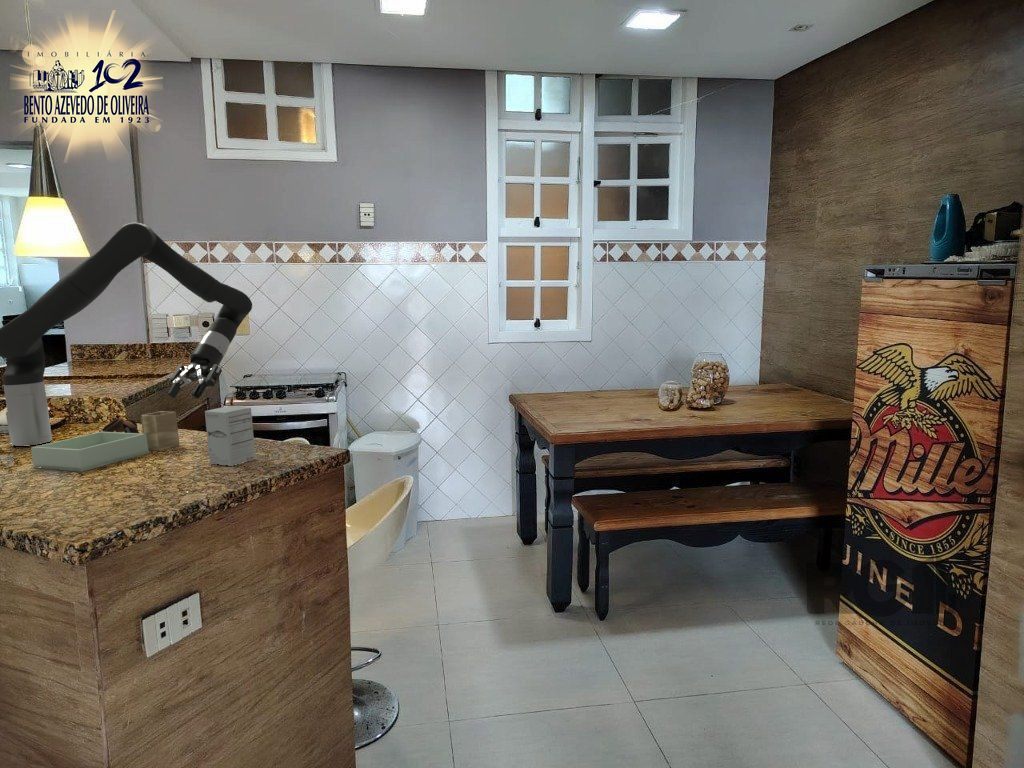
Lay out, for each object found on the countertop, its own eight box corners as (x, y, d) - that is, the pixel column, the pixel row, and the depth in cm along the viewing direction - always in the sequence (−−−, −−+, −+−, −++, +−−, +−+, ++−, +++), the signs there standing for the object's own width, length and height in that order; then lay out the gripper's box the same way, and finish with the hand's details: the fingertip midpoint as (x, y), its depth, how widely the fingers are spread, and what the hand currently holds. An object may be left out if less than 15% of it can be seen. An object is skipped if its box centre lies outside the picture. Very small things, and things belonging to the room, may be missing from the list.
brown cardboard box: (144, 449, 177) (140, 415, 176) (163, 444, 183) (160, 411, 181) (160, 450, 175) (156, 416, 174) (179, 445, 181) (175, 411, 179)
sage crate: (33, 468, 162) (30, 447, 161) (103, 450, 178) (100, 431, 178) (81, 471, 156) (78, 450, 155) (148, 453, 173) (146, 433, 172)
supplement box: (208, 464, 157) (203, 410, 156) (235, 457, 164) (229, 405, 162) (231, 467, 154) (225, 412, 152) (257, 459, 160) (251, 406, 159)
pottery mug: (138, 448, 182) (117, 424, 179) (108, 464, 183) (87, 441, 180) (154, 428, 193) (134, 405, 190) (126, 443, 194) (106, 421, 191)
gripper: (183, 342, 194) (153, 388, 185) (222, 341, 189) (194, 389, 180) (199, 359, 199) (171, 404, 190) (238, 359, 194) (211, 405, 185)
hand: (182, 397), depth 185 cm, fingers open, 8 cm apart
